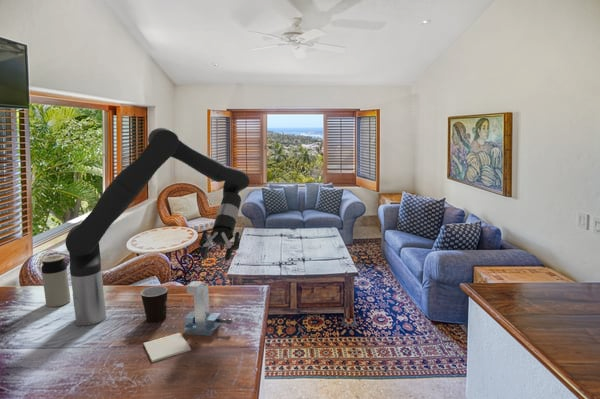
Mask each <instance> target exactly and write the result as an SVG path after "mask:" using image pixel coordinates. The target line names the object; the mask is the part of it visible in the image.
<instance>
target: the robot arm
mask: <svg viewBox="0 0 600 399" xmlns="http://www.w3.org/2000/svg"><path fill="white" fill-rule="evenodd" d="M147 142H148V144H147V146H146V147H145V148H144V150H143V151H142V152H141V153H140V155H139V156H138V157H137V158H136V159H135V160H134V161H133V162H131V163H130V164H129V165H127V166H126V167H125V168H123V170H121V171H120V172H119V173H118V174H117V175H116V176H115V177H114V179H113V180H112V181H111V182H110V183H109V185H107V187H106V188H105V190H104V191H103V192H102V194H101V196H100V197H99V198H98V200H97V202H96V203H95V205H94V207H93V209H92V210H91V211H90V213H89V214H88V215H87V216H86V217H85V218H84V219H83V220H82V221H81V223H79V224H76V225H74V226H73V227H72V228H70V230H69V231H68V232H67V235H66V238H65V241H64V242H65V247H66V250H67V251H68V253H69V254H68V255H69V273H70V280H71V288H72V299H73V300H72V301H73V308H74V310H73V311H74V316H75V322H76V327H79V326H91V325H96V324H98V323H101V322H102V321H103V320H105V319H106V318H107V313H106V312H107V311H106V310H107V309H106V301H105V293H104V282H103V281H104V280H103V275H102V274H103V273H102V264H101V262H102V260H101V250H100V241H101V240H102V238H103V236H104V235H105V234H106V233H107V231H108V229H110V227H111V226H112V225H113V223H114V222H115V221H117V220H118V218H119V217H120V216H121V215H122V214H124V212H125V211H126V210H127V209H128V208H129V207H130V205H132V203H133V202H134V201H135V200H136V199H137V197H138V196H139V195H140V194H141V192H142V191H143V190H144V188H145V187H146V186H147V185H148V184H149V182H150V180H151V179H152V178H153V176H154V174H156V172H157V171H158V170H159V169H160V168H161V167H162V166H163V165H164V164H165V163H166V162H167V161H168V160H169V159H170V158H173V159H176V160H178V161H179V162H181V163H184V164H185V165H187V166H188V167H190V168H192V169H193V170H194V171H196V172H198V173H200V174H202V175H203V176H205V177H207V178H208V179H210V180H212V181H214V182H216V183H221V182H224V183H223V186H222V187H223V188H222V199H221V202H220V206H219V208H218V209H217V210H218V211H217V213H216V217H215V219H214V223H213V226H212V227H213V228H212V231H207V230H203V232H202V235H201V236H200V239H199V242H198V246H200V248H201V249H202V250H201V253H200V256H201V258H202V259H203V260H206V259H207V257H208V253H209V250H210V248H212V247H214V246H215V245H224V246H225V245H226V246H227V248H226V251H225V254H224V260H225V261H228V262H229V260H231V259H232V258H231V257H232V254H233V252H234V251H237V250H239V248H240V244H241V238H242V235H241V233H240V232H239V231H235V229H236V224H237V221H238V217H239V212H240V211H239V210H240V208H241V203H242V198H241V196H240V195H239V193H240V192H241V191H243V190H245V189H246V188H247V187H249V185H250V183H251V182H250V177H249V175H247V173H246V172H244V171H243V170H241V169H238V168H235V167H232V166H228V165H225V164H224V163H222V162H220V161H219V160H217V159H214V158H212V157H211V156H209V155H207V154H205V153H202V152H200V151H198V150H196V149H195V148H193V147H190V146H189V145H188V144H186V143H185V142H182V140H180V139H179V137H178V135H177V133H176V132H174V131H173V130H170V129H168V128H165V127H158V128H155V129H153V130H151V132H150V133H149V134H148V138H147ZM232 239H234V241H233V244H232V243H231V240H232Z"/></svg>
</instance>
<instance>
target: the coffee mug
mask: <svg viewBox="0 0 600 399" xmlns="http://www.w3.org/2000/svg"><path fill="white" fill-rule="evenodd" d="M168 292H169V291H168V287H166V286H161V285H159V286H157V285H156V286H149V287H147V288H144V289H143V290H142V291H140V296H141V299H142V300H141V301H142V304H143V309H144V314H145V318H146V319H145V320H146V322H148V323H150V324H154V323H155V324H156V323H157V324H158V323H161V322H162V321H165V320H166V319H167V312H168V311H167V310H168V309H167V308H168Z"/></svg>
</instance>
